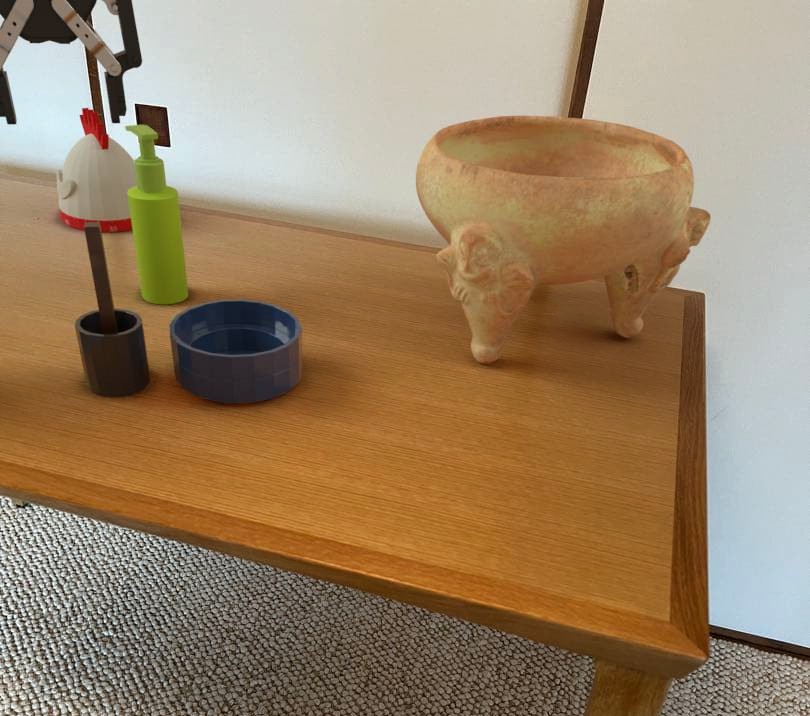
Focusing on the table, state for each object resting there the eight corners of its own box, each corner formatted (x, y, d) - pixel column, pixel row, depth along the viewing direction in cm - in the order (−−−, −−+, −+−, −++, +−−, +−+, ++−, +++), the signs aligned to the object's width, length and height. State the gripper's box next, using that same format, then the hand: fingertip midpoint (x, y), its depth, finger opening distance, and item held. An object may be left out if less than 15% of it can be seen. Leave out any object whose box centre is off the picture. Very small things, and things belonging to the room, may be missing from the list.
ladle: (98, 387, 87) (68, 232, 76) (99, 369, 90) (71, 217, 79) (137, 385, 88) (113, 231, 77) (137, 368, 91) (114, 217, 80)
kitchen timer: (132, 197, 135) (118, 96, 125) (169, 223, 127) (157, 117, 117) (47, 209, 128) (26, 103, 118) (81, 237, 120) (61, 126, 110)
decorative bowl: (589, 266, 126) (625, 101, 111) (709, 376, 100) (777, 180, 85) (374, 274, 117) (383, 96, 103) (445, 395, 92) (470, 182, 77)
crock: (85, 398, 86) (72, 337, 81) (88, 368, 91) (77, 309, 86) (150, 395, 87) (141, 334, 83) (150, 365, 92) (141, 307, 88)
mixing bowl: (177, 411, 85) (170, 359, 81) (174, 349, 95) (168, 301, 92) (310, 404, 88) (309, 353, 84) (293, 344, 99) (292, 297, 95)
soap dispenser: (173, 280, 111) (155, 119, 98) (195, 299, 106) (179, 133, 94) (131, 288, 108) (107, 123, 95) (153, 308, 104) (130, 138, 91)
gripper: (117, -110, 66) (144, 111, 76) (-79, -125, 62) (-23, 111, 72) (124, -105, 60) (152, 132, 71) (-91, -120, 56) (-27, 134, 67)
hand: (64, 121), depth 71 cm, fingers open, 8 cm apart
